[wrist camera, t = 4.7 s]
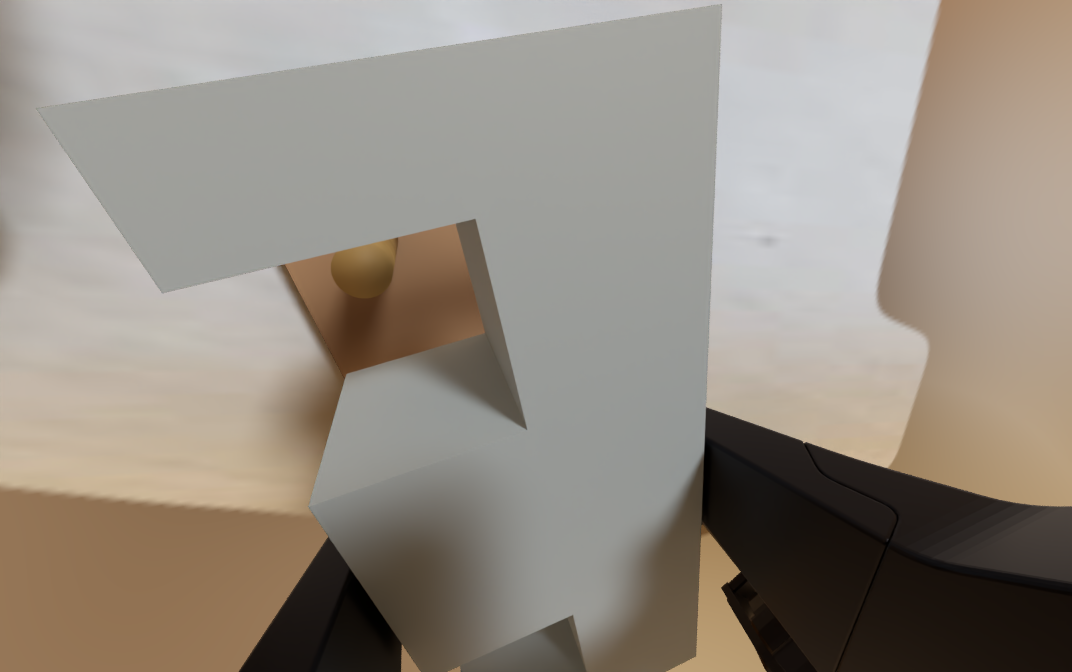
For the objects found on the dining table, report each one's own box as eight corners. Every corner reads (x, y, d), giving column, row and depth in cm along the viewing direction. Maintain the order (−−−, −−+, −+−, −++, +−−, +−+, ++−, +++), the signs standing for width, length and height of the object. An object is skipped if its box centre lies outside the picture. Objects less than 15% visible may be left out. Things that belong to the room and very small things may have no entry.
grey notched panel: (631, 544, 13) (696, 656, 10) (465, 614, 12) (483, 763, 9) (585, 70, 7) (722, 4, 4) (228, 133, 6) (35, 108, 3)
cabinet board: (596, 404, 24) (654, 481, 18) (404, 474, 22) (402, 583, 16) (542, 58, 16) (617, -1, 10) (226, 119, 14) (91, 88, 8)
